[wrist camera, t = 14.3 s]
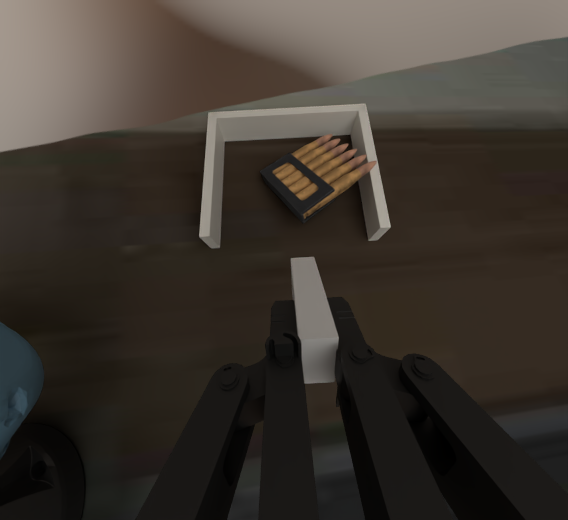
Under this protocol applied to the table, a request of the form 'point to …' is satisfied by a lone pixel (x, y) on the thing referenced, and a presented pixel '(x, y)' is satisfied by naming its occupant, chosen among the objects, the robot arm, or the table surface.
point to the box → (290, 126)
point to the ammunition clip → (314, 176)
